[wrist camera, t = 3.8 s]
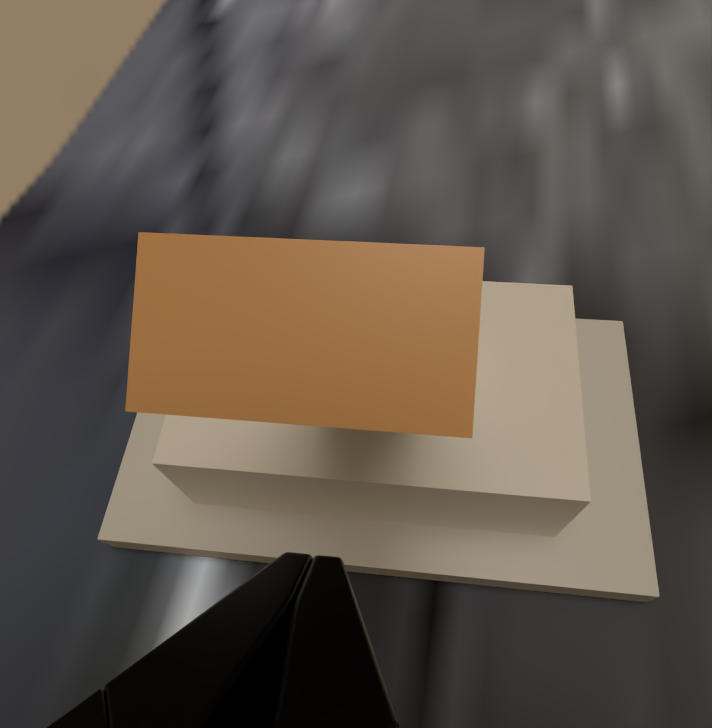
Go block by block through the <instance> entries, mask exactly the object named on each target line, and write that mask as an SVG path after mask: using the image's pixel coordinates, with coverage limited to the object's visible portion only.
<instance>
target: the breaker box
mask: <svg viewBox="0 0 712 728" xmlns="http://www.w3.org/2000/svg"><path fill="white" fill-rule="evenodd" d="M98 540H100V541H102V542H104V543H106V544H108V545H110V546H112V547H118V548H127V549H137V550H147V551H156V552H166V553H176V554H185V555H195V556H204V557H214V558H224V559H233V560H243V561H253V562H262V563H271V562H272V561H274V560H275V559H276V558H278V557H279V556H280V555H282V554H283V553H285V552H293V553H303V554H310V555H311V556H312V557H313V558H314V556H316V555H323V556H334V557H340V558H341V559H342V560H343V562H344V565H345V568H346V571H349V572H358V573H368V574H378V575H387V576H397V577H407V578H416V579H426V580H436V581H445V582H455V583H464V584H474V585H484V586H493V587H503V588H513V589H522V590H532V591H541V592H551V593H561V594H570V595H580V596H590V597H599V598H609V599H618V600H628V601H638V602H647V601H649V600H652V599H655V598H658V597H659V590H658V583H657V575H656V568H655V560H654V553H653V545H652V538H651V530H650V523H649V515H648V508H647V500H646V493H645V485H644V478H643V470H642V463H641V455H640V448H639V440H638V433H637V425H636V418H635V410H634V403H633V395H632V388H631V380H630V373H629V365H628V358H627V350H626V343H625V335H624V328H623V321H607V320H589V319H575V312H574V300H573V289H572V286H566V285H546V284H526V283H506V282H486V281H482V295H481V311H480V326H479V342H478V358H477V373H476V389H475V404H474V420H473V435H472V438H461V437H448V436H435V435H422V434H410V433H397V432H384V431H371V430H358V429H345V428H333V427H320V426H307V425H294V424H281V423H268V422H255V421H243V420H230V419H217V418H204V417H191V416H178V415H166V414H153V413H140V412H138V413H137V416H136V419H135V422H134V425H133V429H132V432H131V435H130V438H129V441H128V444H127V447H126V451H125V454H124V457H123V460H122V463H121V466H120V469H119V473H118V476H117V479H116V482H115V485H114V488H113V492H112V495H111V498H110V501H109V504H108V507H107V510H106V514H105V517H104V520H103V523H102V526H101V529H100V533H99V536H98Z"/></svg>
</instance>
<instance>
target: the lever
mask: <svg viewBox="0 0 712 728" xmlns="http://www.w3.org/2000/svg"><path fill="white" fill-rule="evenodd" d="M484 249H485V247H463V246H440V245H418V244H395V243H372V242H349V241H326V240H303V239H280V238H257V237H234V236H212V235H189V234H166V233H143V232H139V235H138V249H137V262H136V276H135V289H134V303H133V316H132V329H131V343H130V356H129V370H128V383H127V397H126V410H125V411H127V412H140V413H153V414H166V415H178V416H191V417H204V418H217V419H230V420H243V421H255V422H268V423H281V424H294V425H307V426H320V427H333V428H345V429H358V430H371V431H384V432H397V433H410V434H422V435H435V436H448V437H461V438H472V435H473V420H474V404H475V389H476V373H477V358H478V342H479V326H480V311H481V295H482V280H483V264H484Z"/></svg>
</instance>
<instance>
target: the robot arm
mask: <svg viewBox="0 0 712 728" xmlns="http://www.w3.org/2000/svg"><path fill="white" fill-rule="evenodd" d="M47 728H399V723H398V720H397V717H396V714H395V712H394V709H393V706H392V703H391V700H390V697H389V694H388V691H387V688H386V685H385V682H384V679H383V676H382V673H381V671H380V668H379V665H378V662H377V659H376V656H375V653H374V650H373V647H372V644H371V641H370V638H369V635H368V633H367V630H366V627H365V624H364V621H363V618H362V615H361V612H360V609H359V606H358V603H357V600H356V597H355V594H354V592H353V589H352V586H351V583H350V580H349V577H348V574H347V571H346V568H345V565H344V562H343V560H342V559H341V558H340V557H334V556H323V555H316V556H314V558H313V557H312V556H311V555H310V554H303V553H293V552H285V553H283V554H282V555H280V556H279V557H278V558H276V559H275V560H274V561H272V562H271V563H270V564H268V565H267V566H266V567H264V568H263V569H262V570H260V571H259V572H257V573H256V574H255V575H253V576H252V577H251V578H249V579H248V580H247V581H245V582H244V583H243V584H241V585H240V586H239V587H237V588H236V589H235V590H233V591H232V592H231V593H229V594H228V595H226V596H225V597H224V598H222V599H221V600H220V601H218V602H217V603H216V604H214V605H213V606H212V607H210V608H209V609H208V610H206V611H205V612H204V613H202V614H201V615H199V616H198V617H197V618H195V619H194V620H193V621H191V622H190V623H189V624H187V625H186V626H185V627H183V628H182V629H181V630H179V631H178V632H177V633H175V634H174V635H172V636H171V637H170V638H168V639H167V640H166V641H164V642H163V643H162V644H160V645H159V646H158V647H156V648H155V649H154V650H152V651H151V652H150V653H148V654H147V655H145V656H144V657H143V658H141V659H140V660H139V661H137V662H136V663H135V664H133V665H132V666H131V667H129V668H128V669H127V670H125V671H124V672H123V673H121V674H120V675H118V676H117V677H116V678H114V679H113V680H112V681H110V682H109V683H108V684H106V686H105V692H104V690H103V689H100V690H98V691H97V692H95V693H94V694H92V695H91V696H90V697H88V698H87V699H86V700H84V701H83V702H82V703H80V704H79V705H78V706H76V707H75V708H74V709H72V710H71V711H69V712H68V713H67V714H65V715H64V716H62V717H61V718H59V719H58V720H57V721H55V722H54V723H52V724H51V725H50V726H48V727H47Z"/></svg>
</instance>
